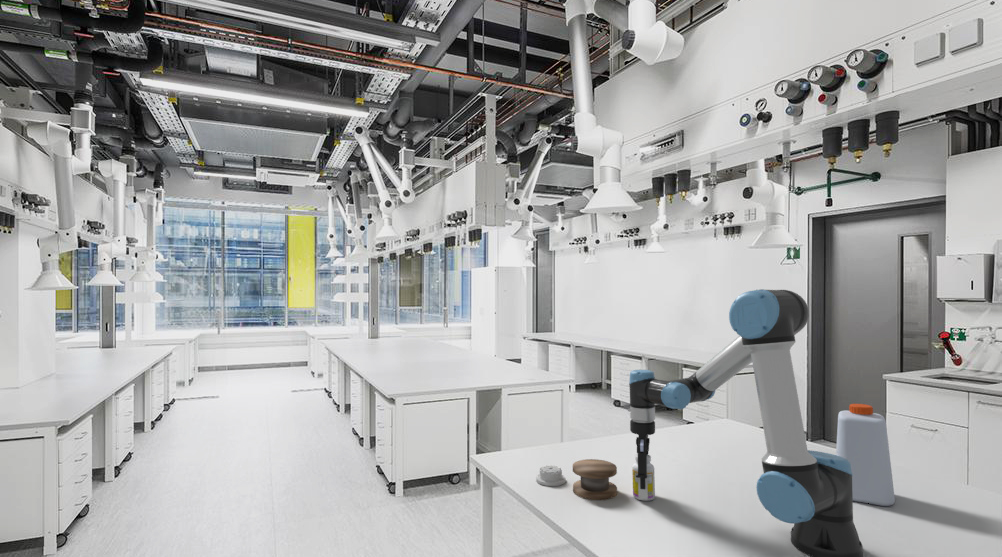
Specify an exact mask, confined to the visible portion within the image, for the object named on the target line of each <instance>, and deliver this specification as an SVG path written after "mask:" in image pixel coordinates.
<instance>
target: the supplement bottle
mask: <svg viewBox="0 0 1002 557" xmlns="http://www.w3.org/2000/svg"><path fill="white" fill-rule="evenodd" d="M634 456H635V457H634V458H635V462H634V463H633V464H632V466H631V467H632V496H633V497H634V498H635V500H639V501H644V502H649V501H652V500H655V499H656V498H655V497H656V487H655V486H656V484H655V483H656V482H655V481H656V480H655V467H654V465H653V464H652V463H651V461H652V456H651V455H650V454H648V455H647V481H648V500H646V499H639V497H638V478H637V477H636V475H638V454H637V453H636V454H635V455H634Z"/></svg>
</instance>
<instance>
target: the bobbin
mask: <svg viewBox="0 0 1002 557" xmlns="http://www.w3.org/2000/svg"><path fill="white" fill-rule="evenodd" d="M617 470H618V466H617V465H616V464H614V463H613V462H611V461H607V460H604V459H603V460H602V459H595V458H594V459H593V458H591V459H586V458H585V459H581V460H578V461H575V462H573V463H572V472H573V474H575V475H577V476H579V477H580V479H579V480H577V481H575V482H573V484H572V491H573V493H574V495H575V496H577V497H579V498H582V499H586V500H590V501H593V500H594V501H602V500H603V501H606V500H609V499H613V498H615V497H616V496H617V495H618V487H617V485H616V484H615V483H613V482H610V478H612V477H615V476H616V475H617V473H618V472H617Z"/></svg>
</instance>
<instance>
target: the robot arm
mask: <svg viewBox="0 0 1002 557" xmlns="http://www.w3.org/2000/svg"><path fill="white" fill-rule="evenodd" d="M809 317H810V309H809V306H808V303H807V302H806V301H805V299H804V298H803V297H802V296H801V295H799V294H798V293H797V292H794V291H792V290H788V289H761V288H760V289H756V290H755V289H754V290H748V291H745V292H743V293H741V294H740V295H738V296H737V297H736V298H735V300H734V301H733V302H732V304H731V305H730V308H729V311H728V320H729V324H730V326H731V328H732V330H733V331H734V332H736V334H737V335H738V336H737V337H736V338H734V339H733V340H732V341H731V342H730V343H729V344H727V345H726V346H725V347H724V348H723V349H722V350H721V351H719V352H718V353H716V354H715V355H714V356H713V357H712V358H711V359H710V360H709V361H707V362H705V364H704V365H702V366H701V367H699V369H697V370H696V371H695V372H694V373H693V374H692V375H690V376H689V377H684V378H678V379H673V380H671V379H670V380H663V379H657V378H656V377H655V372H654V371H653V370H649V369H632V370H631V371H630V373H629V380H628V381H629V382H628V385H629V408H628V409H627V411H628V412H630V413H629V416H630V417H629V418H630V420H629V421H630V422H629V423H630V424H629V425H630V426H629V428H630V432H631V433H632V434H634V435H637V436H636V439H635V445H636V455H637V454H638V475H636V477H637V478H638V497H639V499H646V500H648V481H647V455H649V450H650V441H651V440H650V439H651V438H650V437H649V436H651V435H654V434H655V433H656V422H655V421H654V420H655V419H656V405H657V406H660V407H661V406H662V407H667V408H669V409H672V410H674V409H677V410H684V409H685V408H686V407H687V406H688V405H690V404H693V403H699V402H705V401H707V400H710V399H712V398H713V397H714V395H715V393H716V390H718V389H719V388H721V386H723V385H724V384H725V383H727V382H729V380H730V379H732V378H733V377H735V376H736V375H737V374H739V373H740V372H741V371H743V370H744V369H745V368H746V367H748V366H749V365H750V364H752V368H753V374H754V380H755V386H756V387H755V388H756V391H757V397H758V404H759V408H760V410H759V411H760V416H761V423H762V428H763V436H764V440H765V447H766V453H765V454H764V456H762V458H761V464H762V472H763V473H762V474H761V475H760V477H759V478H758V479H757V482H756V495H757V497H758V499H759V501H760V503H761V505H762V506H763V508H764V509H765V510H766V511H768V512H769V513H770V515H771V516H773V517H774V518H775V519H777V520H779V521H780V522H783V523H787V524H793V526H792V527H791V530H790V542H791V544H792V545H793V547H795V548H796V549H797V550H798V551H800V552H802V553H803V554H805V555H808V556H810V557H864V551H863V550H864V547H863V544H862V541H861V540H860V537H859V534H858V530H857V528H856V525H855V523H854V507H853V506H854V504H853V503H854V501H853V495H852V476H853V474H852V470H851V464H850V462H849V461H848V460H847V459H845V458H843V457H840V456H837V455H836V454H833V453H828V452H823V451H816V450H812V449H811V450H808V445H807V439H806V435H805V428H804V423H803V419H802V418H803V417H802V412H801V406H800V400H799V394H798V389H797V388H798V387H797V384H796V377H795V371H794V367H793V366H794V365H793V360H792V355H791V349H792V347H793V346H794V345H795V343H796V337H795V335H797V334H798V333H800V332H801V331H802V330H803V329H804V328H805V327H806V326H807V324H808V322H809Z"/></svg>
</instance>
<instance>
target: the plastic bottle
mask: <svg viewBox="0 0 1002 557" xmlns="http://www.w3.org/2000/svg"><path fill="white" fill-rule="evenodd" d="M848 406H849V410H841V411H839V412H838V415H837V428H836V429H837V432H836V453H835V455H837V456H840V457H843V458H845V459H847V460H848V461H849V462H850V464H851V470H852V474H853V476H852V495H853V502H857V503H864V504H868V503H869V505H875V506H881V507H889V506H893V504H895V501H896V497H895V489H894V483H893V482H894V481H893V473H892V471H893V470H892V462H891V452H890V446H889V439H888V438H889V437H888V428H887V422H886V419H885V416H884V415H882V414H880V413H876V412H874V408H873V406H872V405H870V404H865V403H851V404H849V405H848Z"/></svg>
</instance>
